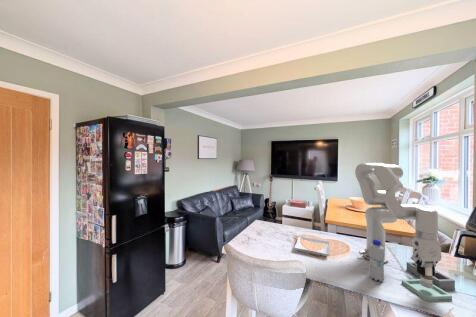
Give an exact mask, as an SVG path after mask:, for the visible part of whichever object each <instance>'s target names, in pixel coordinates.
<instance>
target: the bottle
mask: <svg viewBox="0 0 476 317" xmlns="http://www.w3.org/2000/svg"><path fill="white" fill-rule="evenodd" d="M369 254H370V260H369V267H368V275H369V277H370V279H371V280H374V281H375V282H377V281H378V282H380V283H381V282H383V281H384V280H385V267H384V264H385V263H384V258H385V256H386V251H385V252H384V248H383V247H382V246H381V242H380V241H379V240H373V244H371V245H370V248H369Z"/></svg>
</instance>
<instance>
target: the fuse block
mask: <svg viewBox="0 0 476 317" xmlns="http://www.w3.org/2000/svg"><path fill="white" fill-rule="evenodd" d="M406 270H407V271H408V270H409V271H408V272H410V273H412V274H413V273H414V274H413V275H415V276H416V277H418V278H419V279H421V277H420V274H419V273H418V272H417V267H416V266H415V262H414V261H407V262H406ZM432 277H433V279H432V283H433V285H435V286H437V287H438V288H440V289H442V290H455V288H456V281H455V280H454V279H452V278H451V277H450V276H449V277H448V276H447V275H445V274H443V273H442V272H440V271H438V270H436V269H435V275H434V276H433V275H432Z"/></svg>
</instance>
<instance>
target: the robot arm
mask: <svg viewBox="0 0 476 317" xmlns="http://www.w3.org/2000/svg"><path fill="white" fill-rule="evenodd" d="M354 170H355V172H354V174H355V178H356V180H357V182H358V185H359V186H360V190H361V195H362V198H363V201H364V203H365V204H366V205H369V206H370V207H368V208H367V209H366V210H365V211H364V216H365V221H366V222H365V223H366V248H364V250H359V251H358V253H359V255H363V257H364V258H365V259H367V260H369V261H370V254H369V248H370V245H371V244H373V240H379V241H380V242H381V246H382V247H383V248H384V252H385V253H386V229H385V227H384V226H383V224H393V223H396V222H397V221H398V220H404V221H405V220H415V221H414V222H415V223H414V224H415V226H414V227H415V232H414V235H415V236H414V237H413V242H412V255H411V257H410V260H412V262H415V263H416V264H417V272H418V273H419V274H421V275H423V276H425V267H424V263H425V262H432V263H433V267H432V275H433V276H434V275H435V270H436V267H437V264H438V263H439V262H440V261H442V246H441V242H440V240H439V238H438V237H439V236H438V233H439V232H438V230H439V229H438V228H439V227H438V226H439V225H438V224H439V221H438V220H439V217H438V216H439V214H438V211H437V210H435V209H433V208H428V207H425V206H423V205H419V204H416V203H415V204H413V203H402V204H401V203H400V201H398V199H397V197H396V193H398V192H401V191H402V189H403V188H404V184H403V183H402V182H401V180H400V179H401V178H402V177H403V175H404V171H403V168H401V167H400V166H399V165H396V164H391V163H384V162H363V163H359V164H358V165H356V167H355V169H354ZM370 176H371V177H376V179H378V182H380V184H381V186H382V188H384V190H380V189H379V190H378V188H377V187H376V186H377V185H376V184H375V182H374V180H373V179H372V178H371V177H370ZM371 206H372V207H371ZM373 206H374V207H373ZM375 206H376V207H375ZM420 260H421V262H420ZM386 263H389V258H388V257H387V256H386V255H385V258H384V264H386Z"/></svg>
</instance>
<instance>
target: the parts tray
mask: <svg viewBox="0 0 476 317" xmlns="http://www.w3.org/2000/svg"><path fill="white" fill-rule="evenodd" d="M420 279H421V278H419V279H418V278H414V279H413V278H412V279H410V278H409V279H401V284H402V285H404V286H405V287H406V288H408V289H409V290H410V289H411V291H412V292H413V291H414V293H415V294H416V295H418V296H419V297H420V298H422V299H423V300H424V301H427V302H434V301H435V302H437V301H453V295H452V294H450V293H448V292H446V291H445V290H444V289H440V288H438V287H437V286H435V285H433V288H426V287H424V286H422V285H421V284H420Z"/></svg>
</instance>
